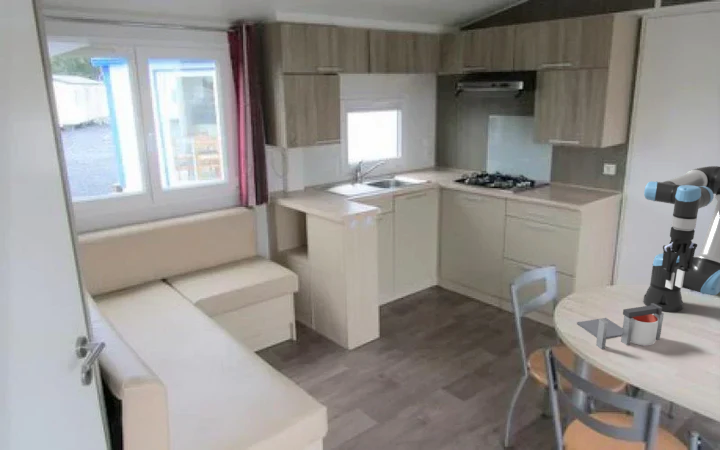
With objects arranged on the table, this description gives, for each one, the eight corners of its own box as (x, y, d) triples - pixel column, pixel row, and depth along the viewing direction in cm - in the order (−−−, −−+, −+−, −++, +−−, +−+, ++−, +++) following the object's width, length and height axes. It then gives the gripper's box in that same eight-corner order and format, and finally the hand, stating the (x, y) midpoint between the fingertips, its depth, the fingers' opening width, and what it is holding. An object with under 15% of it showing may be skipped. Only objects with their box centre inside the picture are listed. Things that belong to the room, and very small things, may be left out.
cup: (658, 348, 195) (662, 323, 193) (629, 346, 197) (633, 321, 195) (650, 335, 205) (653, 312, 202) (622, 333, 207) (625, 310, 204)
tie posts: (653, 336, 204) (657, 310, 201) (659, 339, 201) (663, 313, 198) (596, 345, 198) (599, 318, 195) (601, 349, 195) (604, 322, 192)
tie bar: (652, 309, 201) (653, 303, 201) (661, 314, 197) (662, 307, 197) (621, 314, 198) (622, 307, 197) (629, 319, 194) (630, 312, 193)
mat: (605, 319, 219) (606, 317, 219) (630, 334, 206) (630, 333, 206) (576, 323, 216) (576, 322, 215) (599, 339, 202) (599, 338, 202)
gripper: (693, 223, 197) (683, 281, 204) (655, 227, 193) (647, 286, 200) (710, 228, 190) (700, 288, 197) (672, 232, 186) (662, 293, 193)
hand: (673, 287), depth 198 cm, fingers open, 4 cm apart
